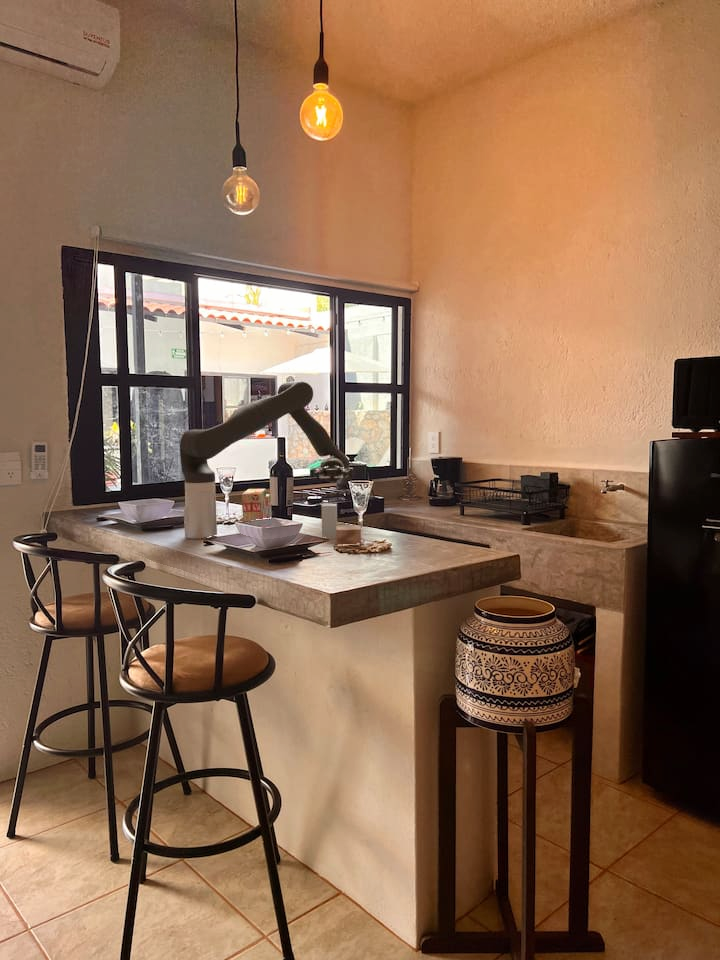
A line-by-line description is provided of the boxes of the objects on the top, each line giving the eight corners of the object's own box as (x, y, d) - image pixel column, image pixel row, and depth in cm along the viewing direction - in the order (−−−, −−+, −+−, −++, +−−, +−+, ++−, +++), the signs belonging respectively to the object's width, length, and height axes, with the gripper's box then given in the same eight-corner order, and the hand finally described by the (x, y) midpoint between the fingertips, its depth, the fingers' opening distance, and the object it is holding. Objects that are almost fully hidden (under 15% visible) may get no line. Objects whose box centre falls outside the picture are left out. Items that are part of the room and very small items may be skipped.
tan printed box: (254, 519, 247) (253, 485, 246) (271, 519, 247) (270, 485, 246) (242, 530, 226) (241, 492, 224) (261, 529, 226) (260, 492, 224)
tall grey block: (322, 538, 209) (321, 505, 208) (322, 535, 213) (322, 503, 212) (336, 538, 209) (336, 505, 208) (337, 535, 213) (336, 503, 212)
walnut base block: (336, 547, 196) (336, 529, 196) (336, 542, 203) (336, 525, 203) (361, 546, 197) (360, 529, 196) (360, 541, 204) (360, 525, 203)
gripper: (312, 459, 236) (308, 463, 220) (353, 458, 236) (352, 462, 220) (312, 481, 237) (309, 486, 221) (353, 480, 237) (353, 485, 221)
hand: (330, 474), depth 220 cm, fingers open, 8 cm apart
